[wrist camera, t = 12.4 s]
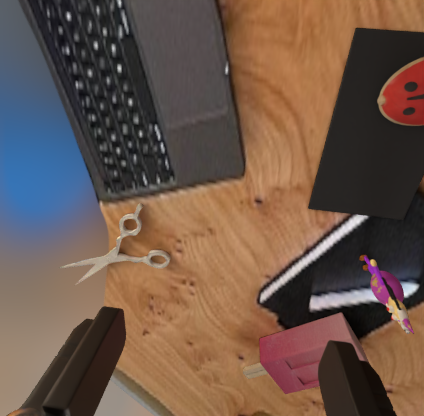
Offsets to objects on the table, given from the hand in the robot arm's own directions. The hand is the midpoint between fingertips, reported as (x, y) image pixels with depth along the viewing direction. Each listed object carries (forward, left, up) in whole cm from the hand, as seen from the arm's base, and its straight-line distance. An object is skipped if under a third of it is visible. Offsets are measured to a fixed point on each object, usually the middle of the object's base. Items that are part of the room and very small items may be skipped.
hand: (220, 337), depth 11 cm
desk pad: (-4, +16, -26) cm, 31 cm away
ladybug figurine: (-9, +19, -26) cm, 33 cm away
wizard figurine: (+13, +20, -26) cm, 35 cm away
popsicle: (+33, +14, -26) cm, 44 cm away
